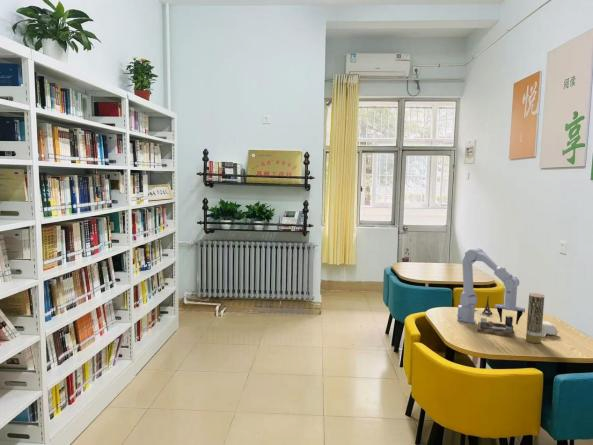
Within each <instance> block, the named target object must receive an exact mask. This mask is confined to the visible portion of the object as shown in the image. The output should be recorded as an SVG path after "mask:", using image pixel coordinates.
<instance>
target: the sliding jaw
mask: <svg viewBox="0 0 593 445" xmlns="http://www.w3.org/2000/svg"><path fill="white" fill-rule="evenodd" d="M513 322H514V318H513V316H510V315H506V316H505V321H504V324H505V329H506V330H512V325H513Z"/></svg>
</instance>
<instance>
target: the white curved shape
mask: <svg viewBox="0 0 593 445" xmlns="http://www.w3.org/2000/svg"><path fill="white" fill-rule="evenodd" d="M558 333H559V331H558V330H557V327H556V326H555V325H554V324H553V323H551V322H549V321H544V320H543V322H542V335H541V338H542V337H543V338H544V337H546V335H551V336H552V335H556V336H555V337H557V336H558Z"/></svg>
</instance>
